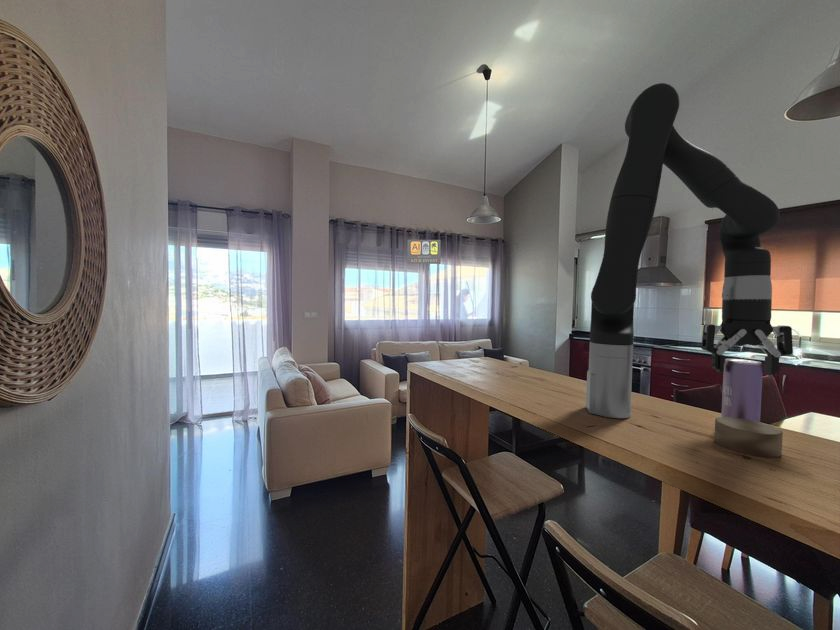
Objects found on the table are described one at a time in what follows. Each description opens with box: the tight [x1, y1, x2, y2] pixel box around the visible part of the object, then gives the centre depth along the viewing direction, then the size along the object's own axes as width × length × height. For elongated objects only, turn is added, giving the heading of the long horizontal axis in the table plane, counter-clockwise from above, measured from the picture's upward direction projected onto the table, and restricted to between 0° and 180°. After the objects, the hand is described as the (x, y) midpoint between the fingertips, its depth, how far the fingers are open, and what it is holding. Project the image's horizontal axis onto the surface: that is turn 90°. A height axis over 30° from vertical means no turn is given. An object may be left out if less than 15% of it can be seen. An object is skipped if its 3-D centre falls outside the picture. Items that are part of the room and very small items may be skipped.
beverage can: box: [720, 358, 764, 422], centre depth 71 cm, size 6×6×15 cm
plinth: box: [713, 416, 784, 458], centre depth 62 cm, size 9×9×4 cm
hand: (744, 373), depth 70 cm, fingers open, 8 cm apart
